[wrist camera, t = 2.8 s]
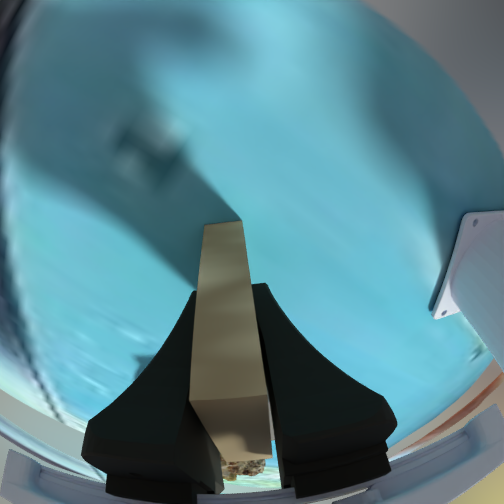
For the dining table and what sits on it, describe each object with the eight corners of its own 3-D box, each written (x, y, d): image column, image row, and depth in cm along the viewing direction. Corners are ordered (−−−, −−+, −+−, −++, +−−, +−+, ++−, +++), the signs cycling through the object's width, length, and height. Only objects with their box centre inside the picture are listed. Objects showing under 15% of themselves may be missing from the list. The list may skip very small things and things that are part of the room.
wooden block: (242, 220, 12) (266, 394, 5) (251, 308, 15) (272, 458, 8) (204, 224, 12) (188, 400, 5) (221, 311, 15) (226, 462, 8)
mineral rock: (279, 460, 25) (259, 489, 27) (272, 433, 29) (255, 465, 31) (180, 454, 23) (175, 484, 25) (182, 425, 27) (176, 458, 29)
